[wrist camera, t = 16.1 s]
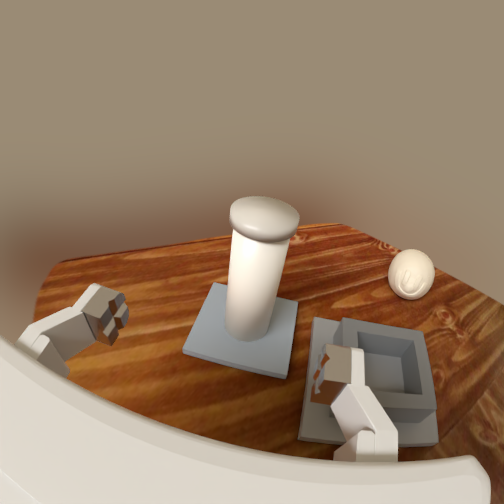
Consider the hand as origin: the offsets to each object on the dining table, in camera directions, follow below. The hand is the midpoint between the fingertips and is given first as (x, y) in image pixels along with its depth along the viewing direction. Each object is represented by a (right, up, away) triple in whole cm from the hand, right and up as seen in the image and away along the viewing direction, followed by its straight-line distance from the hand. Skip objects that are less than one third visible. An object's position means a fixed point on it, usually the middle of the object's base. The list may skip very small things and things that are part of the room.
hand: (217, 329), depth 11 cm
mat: (+1, -5, +19) cm, 20 cm away
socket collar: (+13, -10, +14) cm, 22 cm away
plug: (+1, -5, +19) cm, 19 cm away
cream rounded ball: (+23, -3, +27) cm, 35 cm away
